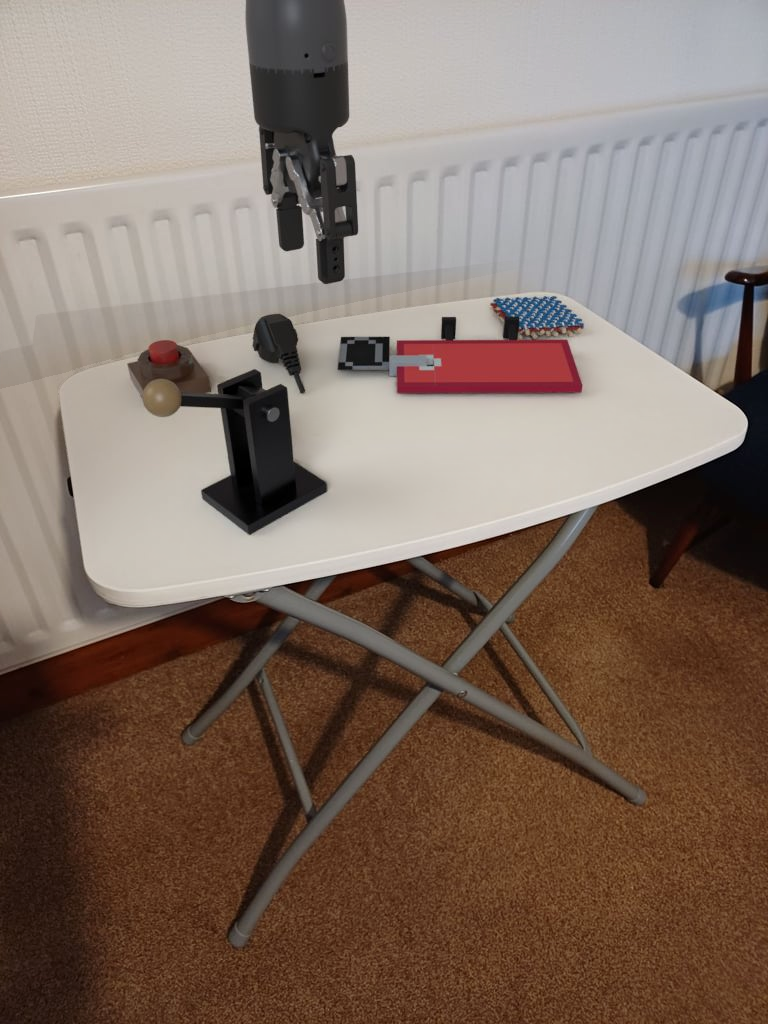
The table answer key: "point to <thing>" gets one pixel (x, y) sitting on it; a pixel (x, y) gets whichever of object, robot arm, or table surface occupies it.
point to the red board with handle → (467, 362)
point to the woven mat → (538, 315)
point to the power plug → (278, 344)
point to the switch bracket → (260, 460)
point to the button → (163, 352)
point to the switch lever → (191, 398)
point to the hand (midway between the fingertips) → (311, 264)
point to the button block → (170, 372)
